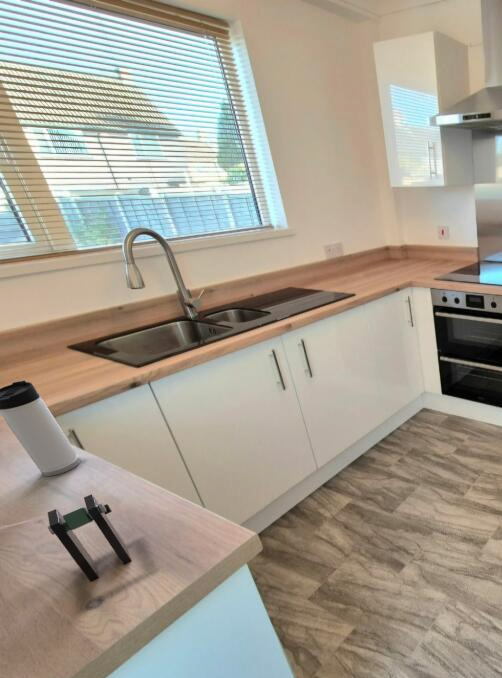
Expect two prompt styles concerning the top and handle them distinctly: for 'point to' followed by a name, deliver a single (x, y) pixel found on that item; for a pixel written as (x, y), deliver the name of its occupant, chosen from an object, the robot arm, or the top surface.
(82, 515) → the lever
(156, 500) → the top surface
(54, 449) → the travel mug
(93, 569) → the bracket
